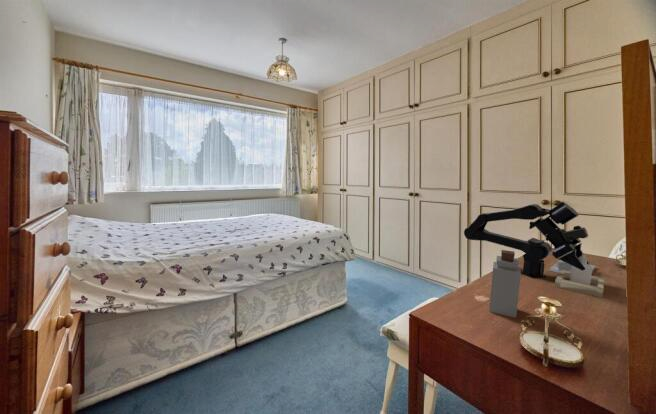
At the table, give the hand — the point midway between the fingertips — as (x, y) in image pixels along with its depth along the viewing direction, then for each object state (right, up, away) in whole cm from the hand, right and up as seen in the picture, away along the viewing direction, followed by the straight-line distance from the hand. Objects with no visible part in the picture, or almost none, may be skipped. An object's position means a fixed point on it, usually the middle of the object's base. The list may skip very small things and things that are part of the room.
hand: (585, 266), depth 104 cm
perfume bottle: (-40, -10, -17) cm, 45 cm away
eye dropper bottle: (-1, -7, +2) cm, 8 cm away
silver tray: (+11, -5, +19) cm, 23 cm away
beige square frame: (-1, -7, +2) cm, 8 cm away
